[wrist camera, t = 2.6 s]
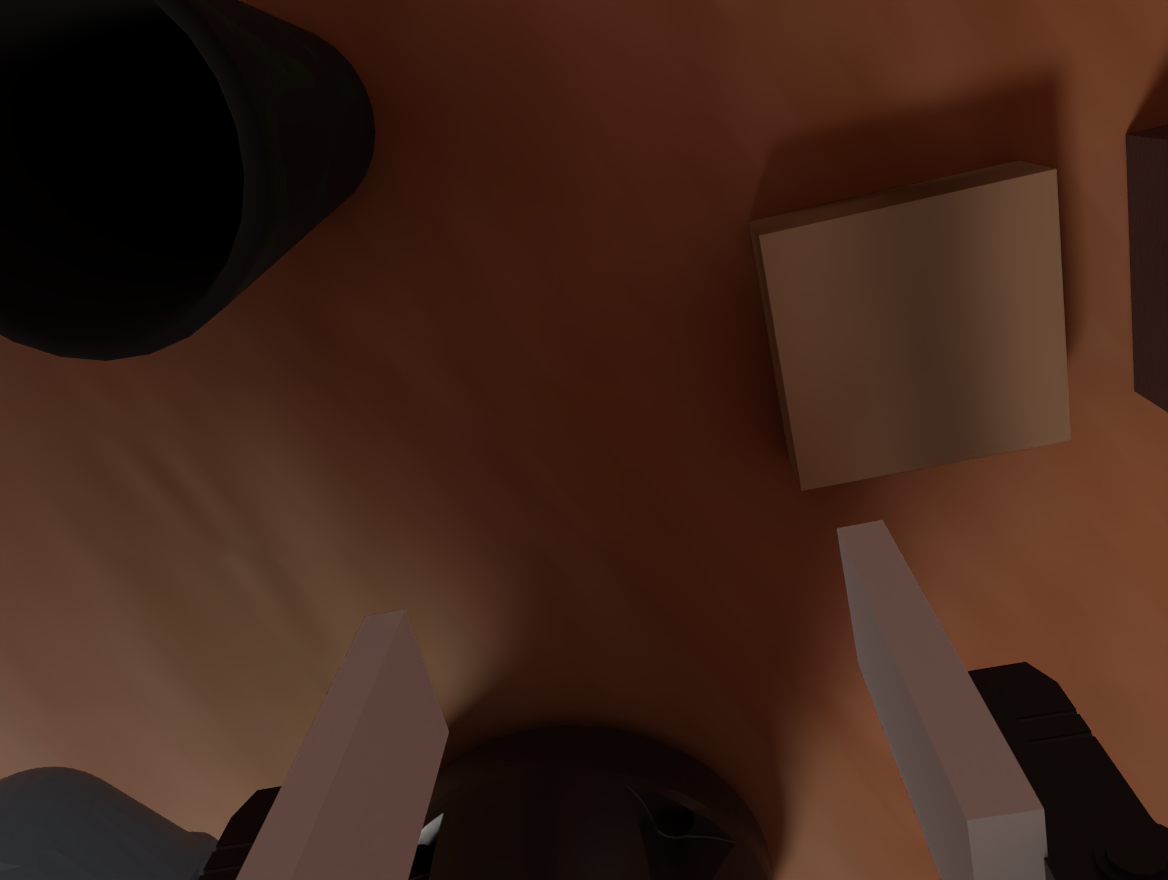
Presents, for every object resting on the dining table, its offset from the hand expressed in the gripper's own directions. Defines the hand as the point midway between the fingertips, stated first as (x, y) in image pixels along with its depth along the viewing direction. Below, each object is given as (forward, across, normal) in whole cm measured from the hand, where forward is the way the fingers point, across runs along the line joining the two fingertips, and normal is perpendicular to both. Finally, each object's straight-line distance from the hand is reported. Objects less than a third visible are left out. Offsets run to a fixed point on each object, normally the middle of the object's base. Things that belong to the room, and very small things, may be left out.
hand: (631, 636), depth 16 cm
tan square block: (+16, +8, 0) cm, 18 cm away
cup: (+15, -8, +10) cm, 20 cm away
